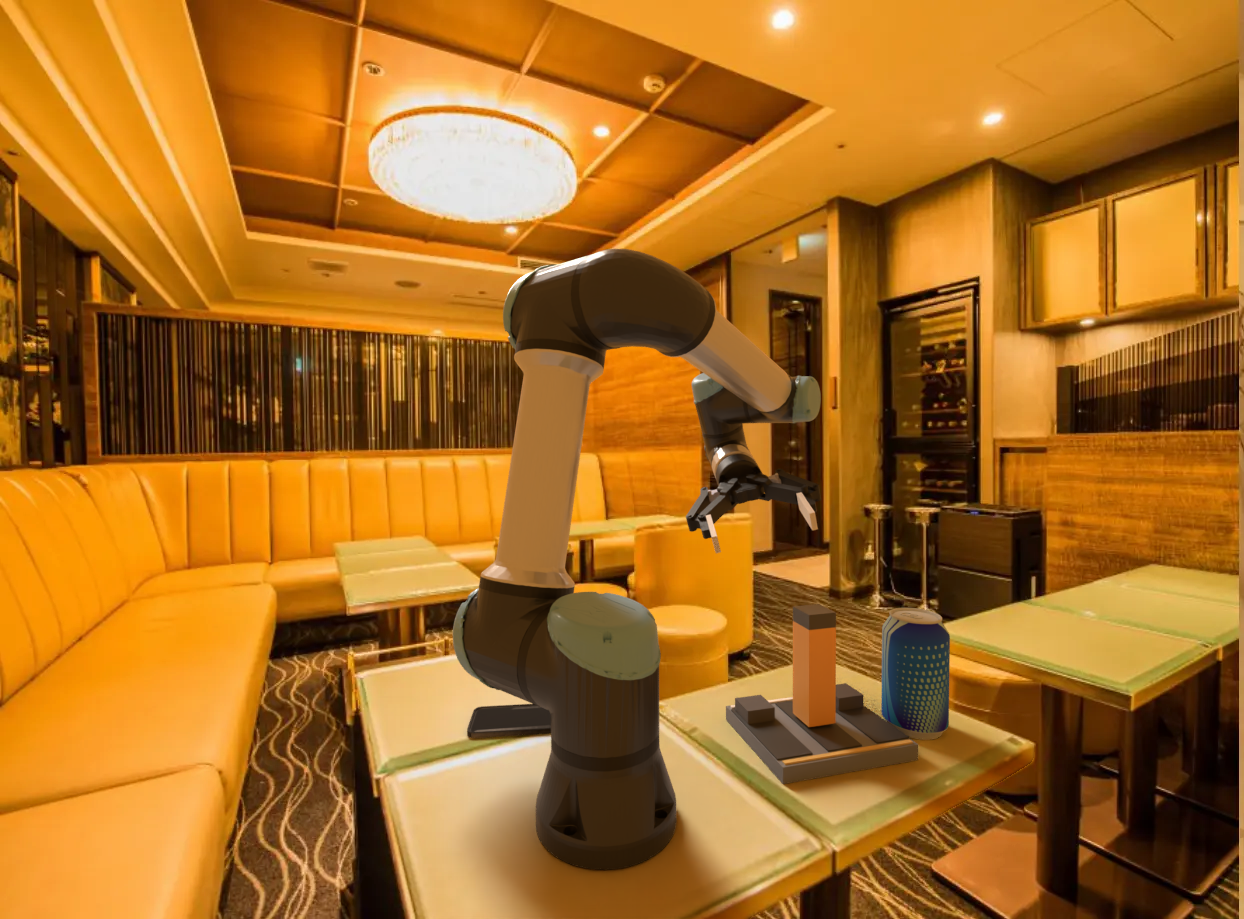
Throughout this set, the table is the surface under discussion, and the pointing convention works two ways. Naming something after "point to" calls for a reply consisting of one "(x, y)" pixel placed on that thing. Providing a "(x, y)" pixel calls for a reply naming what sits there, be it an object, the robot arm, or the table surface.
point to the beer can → (915, 672)
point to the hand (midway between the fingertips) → (764, 533)
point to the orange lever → (814, 664)
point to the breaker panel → (819, 737)
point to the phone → (509, 721)
